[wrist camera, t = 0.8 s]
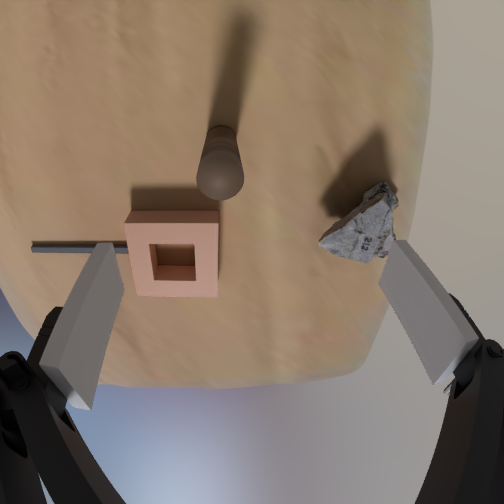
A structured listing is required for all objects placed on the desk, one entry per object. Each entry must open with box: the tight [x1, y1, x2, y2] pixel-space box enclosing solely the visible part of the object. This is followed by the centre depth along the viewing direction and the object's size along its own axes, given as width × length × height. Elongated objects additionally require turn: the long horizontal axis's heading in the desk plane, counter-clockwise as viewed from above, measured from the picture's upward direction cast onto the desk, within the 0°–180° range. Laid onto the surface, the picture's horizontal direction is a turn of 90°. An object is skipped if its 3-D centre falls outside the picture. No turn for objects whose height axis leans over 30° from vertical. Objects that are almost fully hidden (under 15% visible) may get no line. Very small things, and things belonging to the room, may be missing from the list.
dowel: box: [196, 125, 244, 200], centre depth 23 cm, size 3×3×12 cm
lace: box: [31, 245, 129, 254], centre depth 33 cm, size 1×16×1 cm, turn 86°
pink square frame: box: [124, 210, 219, 297], centre depth 33 cm, size 10×10×3 cm
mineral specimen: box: [319, 181, 399, 263], centre depth 32 cm, size 10×8×10 cm
